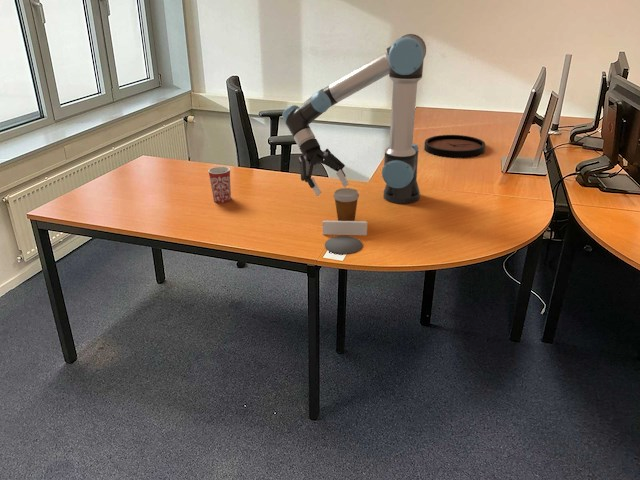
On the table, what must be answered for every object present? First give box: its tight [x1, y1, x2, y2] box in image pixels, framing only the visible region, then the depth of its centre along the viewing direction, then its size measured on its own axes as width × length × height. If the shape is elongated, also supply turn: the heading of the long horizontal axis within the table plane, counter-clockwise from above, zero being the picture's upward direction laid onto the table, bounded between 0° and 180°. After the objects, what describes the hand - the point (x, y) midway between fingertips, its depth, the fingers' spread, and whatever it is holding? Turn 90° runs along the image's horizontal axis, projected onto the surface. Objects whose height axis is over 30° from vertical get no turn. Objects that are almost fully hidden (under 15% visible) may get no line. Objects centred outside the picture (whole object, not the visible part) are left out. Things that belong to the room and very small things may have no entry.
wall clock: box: [423, 134, 486, 159], centre depth 282 cm, size 31×4×31 cm
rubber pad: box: [324, 235, 363, 255], centre depth 184 cm, size 13×13×1 cm
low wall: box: [321, 220, 368, 236], centre depth 191 cm, size 16×1×5 cm, turn 85°
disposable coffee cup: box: [333, 187, 360, 221], centre depth 199 cm, size 10×10×12 cm
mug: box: [207, 165, 232, 204], centre depth 223 cm, size 13×9×14 cm
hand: (333, 189), depth 201 cm, fingers open, 13 cm apart
